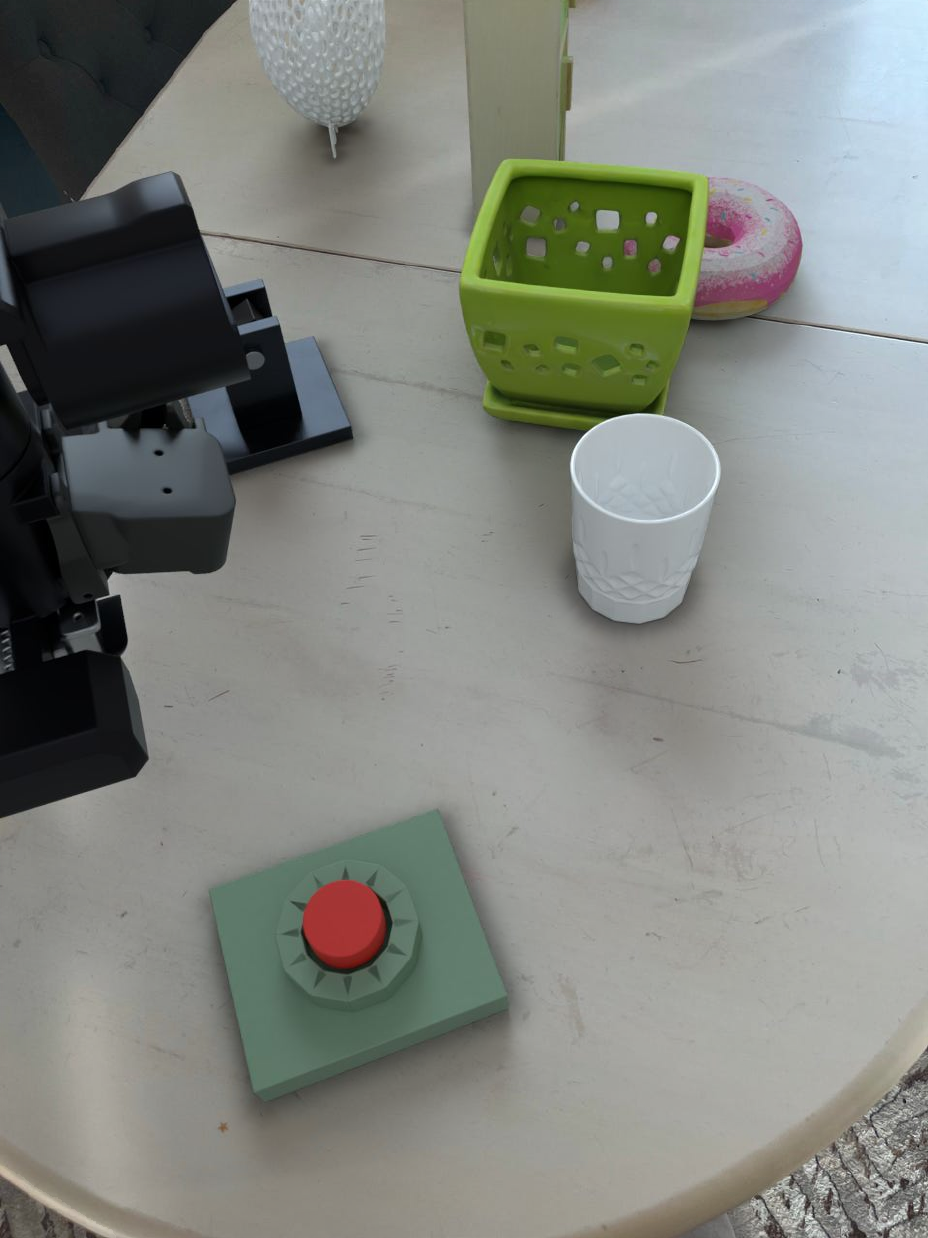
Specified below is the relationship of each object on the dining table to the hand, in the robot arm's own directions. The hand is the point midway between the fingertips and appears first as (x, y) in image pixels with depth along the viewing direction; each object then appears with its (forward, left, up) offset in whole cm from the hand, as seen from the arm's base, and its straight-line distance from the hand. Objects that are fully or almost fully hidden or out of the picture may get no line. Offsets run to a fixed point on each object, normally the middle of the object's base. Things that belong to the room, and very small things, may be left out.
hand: (100, 691), depth 48 cm
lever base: (+12, +28, -12) cm, 32 cm away
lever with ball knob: (+7, +28, -8) cm, 30 cm away
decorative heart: (+26, +61, -12) cm, 67 cm away
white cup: (+29, +5, -12) cm, 32 cm away
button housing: (+7, -11, -12) cm, 18 cm away
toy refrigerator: (+37, +43, -12) cm, 58 cm away
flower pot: (+33, +22, -12) cm, 41 cm away
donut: (+46, +29, -12) cm, 56 cm away
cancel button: (+7, -11, -8) cm, 16 cm away
